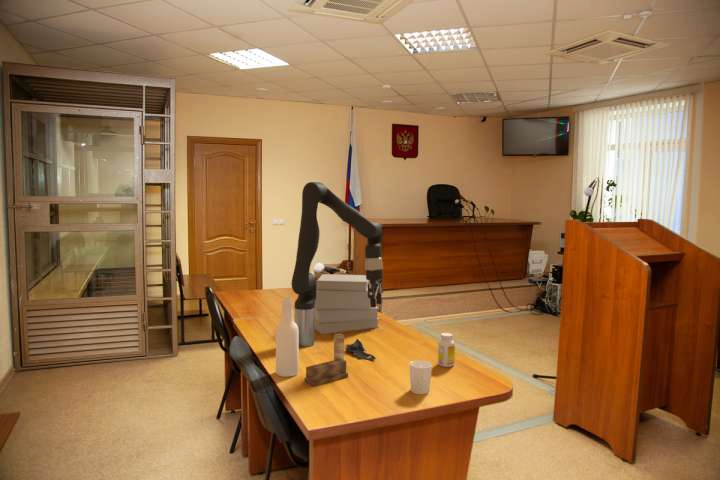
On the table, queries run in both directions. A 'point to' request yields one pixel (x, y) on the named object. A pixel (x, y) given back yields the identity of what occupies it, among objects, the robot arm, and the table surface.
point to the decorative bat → (359, 350)
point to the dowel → (338, 346)
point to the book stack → (343, 304)
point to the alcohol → (287, 342)
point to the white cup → (420, 377)
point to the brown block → (326, 372)
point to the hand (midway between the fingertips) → (376, 305)
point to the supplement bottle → (446, 350)
